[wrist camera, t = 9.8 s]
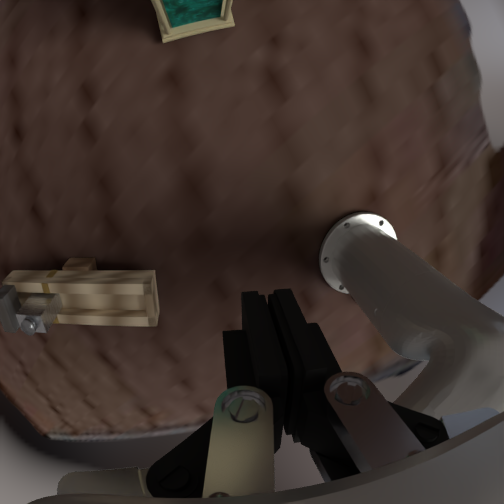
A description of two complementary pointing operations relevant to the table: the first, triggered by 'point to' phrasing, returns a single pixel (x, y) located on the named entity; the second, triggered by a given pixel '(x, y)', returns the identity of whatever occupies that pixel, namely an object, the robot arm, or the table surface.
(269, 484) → the robot arm
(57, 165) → the table surface
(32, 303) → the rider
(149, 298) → the beam
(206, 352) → the table surface
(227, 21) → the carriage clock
